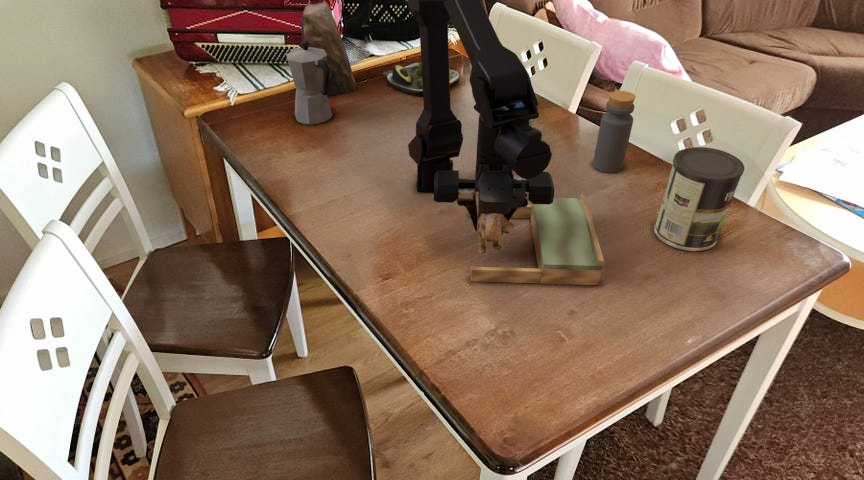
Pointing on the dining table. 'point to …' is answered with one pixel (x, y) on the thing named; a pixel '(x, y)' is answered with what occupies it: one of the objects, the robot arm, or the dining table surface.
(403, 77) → the salad plate
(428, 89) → the robot arm
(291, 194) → the dining table surface
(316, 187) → the dining table surface
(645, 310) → the dining table surface
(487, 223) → the lion figurine
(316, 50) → the coffeepot
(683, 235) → the coffee can
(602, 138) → the bottle
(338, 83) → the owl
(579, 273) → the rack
